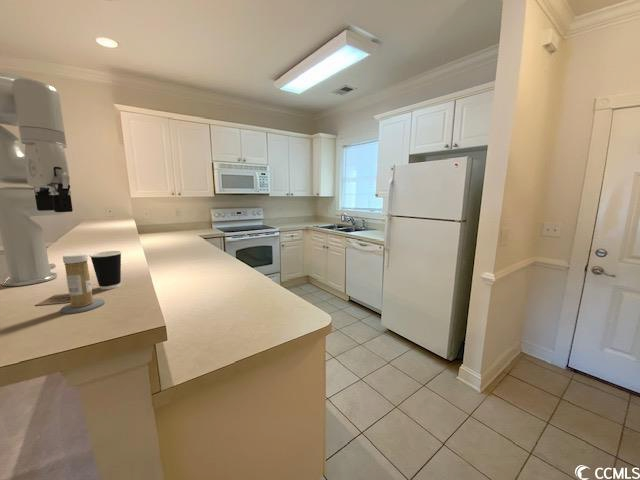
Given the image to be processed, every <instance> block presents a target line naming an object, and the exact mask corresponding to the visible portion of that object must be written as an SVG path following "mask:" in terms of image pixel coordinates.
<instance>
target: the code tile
mask: <svg viewBox="0 0 640 480" xmlns="http://www.w3.org/2000/svg"><path fill="white" fill-rule="evenodd" d="M67 303H68V304H71V299H70V295H69V293H61V294H59V293H58V294H54V295H52V296H50V297H48V298H46V299H44V300H42V301H41V302H38V303H37V304H35V305H34V307H38V306H48V305H57V304H60V305H61V304H67Z"/></svg>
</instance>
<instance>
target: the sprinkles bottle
mask: <svg viewBox="0 0 640 480" xmlns="http://www.w3.org/2000/svg"><path fill="white" fill-rule="evenodd" d="M88 260H89V258H88V253H86V252H76V253H69V254H64V255H63V256H62V261H63V263H64V266H65V267H64V268H65V274H66V275H65V276H66V283H67V288H68V294H69V295H70V299H71V303H70V304H71V307H83V306H87V305H90V304H92V303H93V302H94V300H93V299H94V298H93V289H92V283H91V277H90V271H89V265H88Z"/></svg>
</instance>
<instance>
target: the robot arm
mask: <svg viewBox="0 0 640 480" xmlns="http://www.w3.org/2000/svg"><path fill="white" fill-rule="evenodd" d="M3 125H6V126H11V127H17V128H18V130H19V131H18V132H19V136H20V137H19V138H18V136H16V135H15V134H14V133H13V132H11V130H9V129H7V128H6V127H4V126H3ZM66 148H67V139H66V135H65V127H64V119H63V111H62V105H61V98H60V93H59V91H58V90H57V89H56V88H55V87H54V86H52V85H50V84H48V83H46V82H43V81H39V80H36V79H32V78H28V77H24V76H22V75H21V76H20V75H17V74H12V73H9V72H7V71H1V70H0V184H5V185H18V187H16V186H12V187H11V186H5V187H0V237H1V238H0V239H1V243H2V247H3V252H4V258H5V262H6V263H5V264H6V268H7V274H8V278H7V279H8V280H7V279H4V280H3V281H1V282H2V284H3V283H4V282H5V281H6V280H7V281H6V282H5V283H4V285H3V286H5V287H18V286H28V285H34V284H40V283H45V282H47V281H50V280H51V281H52V280H54V279H56V278H57V277H58V274H57V272H51V270H53V269H55V268H56V267H57V265H56V264H55V263H49V257H48V252H47V251H48V250H47V245H46V244H47V243H46V239H45V233H44V229H43V227H42V226H41V225H40V224H39V223H38V222H36V221H34V220H32V219H31V217H43V216H44V217H45V216H59V215H61V216H62V215H64V214H65V213H72V212H73V211H74V209H73V203H72V196H71V195H72V192H71V190H70V189H71V184H70V172H69V167H68V162H67V156H66V153H65V150H64V149H66ZM19 185H22V186H23V185H24V186H25V185H26V186H28V185H29V187H20V186H19ZM9 277H10V278H9Z"/></svg>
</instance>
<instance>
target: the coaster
mask: <svg viewBox="0 0 640 480" xmlns="http://www.w3.org/2000/svg"><path fill="white" fill-rule="evenodd" d="M93 300H94V302H93V303H92V304H90V305H87V306H83V307H71V303H68V304H67V305H66V304H65V305H64V306H62V307H61V308H60V312H61V313H62V314H64V315H65V314H69V315H71V314H78V313H83V312H89V311H92V310H95V309H97V308H100V307H102V306H104V304H105V300H104V299H102V298H93Z"/></svg>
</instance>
